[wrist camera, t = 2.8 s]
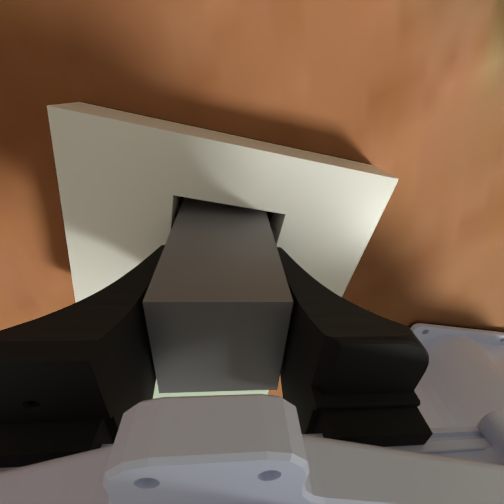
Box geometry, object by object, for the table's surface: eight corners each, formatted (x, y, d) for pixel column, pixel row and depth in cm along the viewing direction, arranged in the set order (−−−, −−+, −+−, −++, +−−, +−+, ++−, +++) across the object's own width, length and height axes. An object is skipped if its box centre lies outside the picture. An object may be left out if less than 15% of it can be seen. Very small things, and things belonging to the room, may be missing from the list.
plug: (262, 199, 14) (293, 302, 7) (256, 263, 16) (276, 389, 10) (184, 196, 14) (142, 302, 7) (188, 262, 16) (159, 393, 9)
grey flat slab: (372, 165, 14) (398, 179, 12) (311, 308, 19) (322, 336, 17) (79, 101, 12) (46, 105, 10) (96, 284, 17) (77, 314, 15)
